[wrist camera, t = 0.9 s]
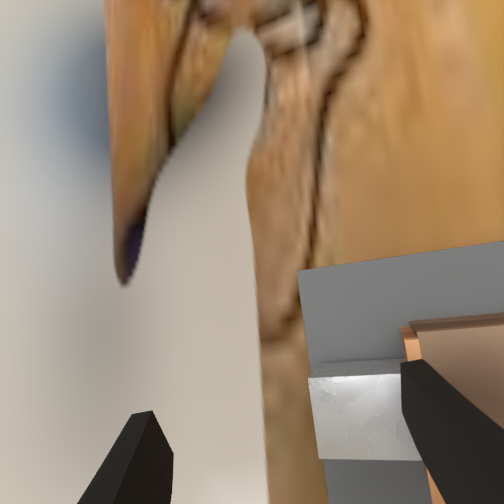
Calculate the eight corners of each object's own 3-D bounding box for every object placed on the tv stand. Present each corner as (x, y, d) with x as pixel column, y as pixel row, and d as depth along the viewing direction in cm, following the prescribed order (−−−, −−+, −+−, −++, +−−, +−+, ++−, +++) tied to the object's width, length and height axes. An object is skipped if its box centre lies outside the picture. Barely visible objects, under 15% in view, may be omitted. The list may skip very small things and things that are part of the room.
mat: (672, 538, 19) (688, 551, 18) (333, 515, 24) (331, 525, 23) (595, 228, 21) (605, 226, 20) (299, 271, 26) (296, 271, 25)
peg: (479, 429, 20) (500, 462, 16) (329, 430, 23) (318, 458, 19) (464, 354, 21) (482, 369, 17) (320, 363, 23) (307, 378, 20)
